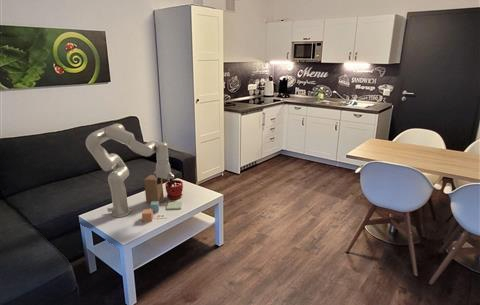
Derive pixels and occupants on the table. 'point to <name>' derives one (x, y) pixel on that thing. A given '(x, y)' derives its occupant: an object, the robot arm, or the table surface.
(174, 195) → the plant pot
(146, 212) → the brick terracotta
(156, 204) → the brick teal
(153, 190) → the wooden block
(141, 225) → the table surface
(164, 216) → the page
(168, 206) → the build plate
